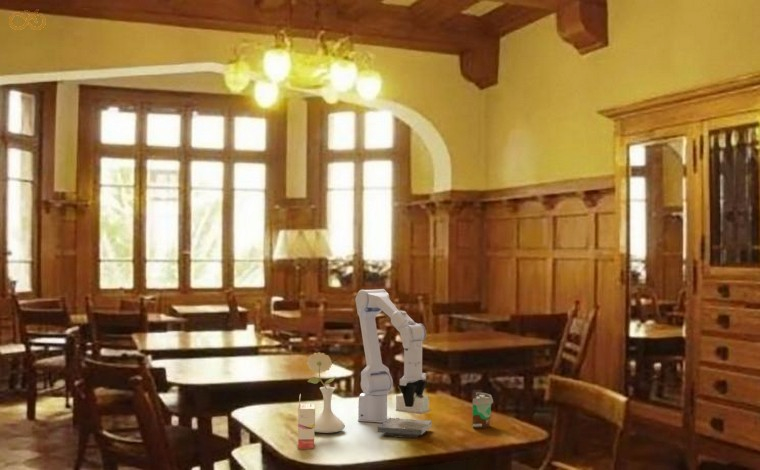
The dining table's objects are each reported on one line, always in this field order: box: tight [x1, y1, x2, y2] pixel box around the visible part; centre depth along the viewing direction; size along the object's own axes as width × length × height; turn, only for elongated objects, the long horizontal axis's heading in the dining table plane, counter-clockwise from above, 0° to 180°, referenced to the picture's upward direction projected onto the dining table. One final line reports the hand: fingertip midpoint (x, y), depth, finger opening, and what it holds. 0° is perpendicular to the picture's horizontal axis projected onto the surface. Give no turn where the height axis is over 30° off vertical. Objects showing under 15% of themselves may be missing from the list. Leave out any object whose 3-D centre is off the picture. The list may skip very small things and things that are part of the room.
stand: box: [377, 417, 433, 439], centre depth 266 cm, size 14×14×3 cm
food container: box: [472, 391, 494, 429], centre depth 278 cm, size 12×6×10 cm, turn 168°
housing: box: [395, 393, 430, 415], centre depth 269 cm, size 5×9×6 cm, turn 61°
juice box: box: [297, 393, 316, 450], centre depth 250 cm, size 9×5×15 cm, turn 5°
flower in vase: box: [305, 351, 346, 434], centre depth 268 cm, size 13×11×25 cm
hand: (412, 405), depth 269 cm, fingers closed on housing, 5 cm apart
